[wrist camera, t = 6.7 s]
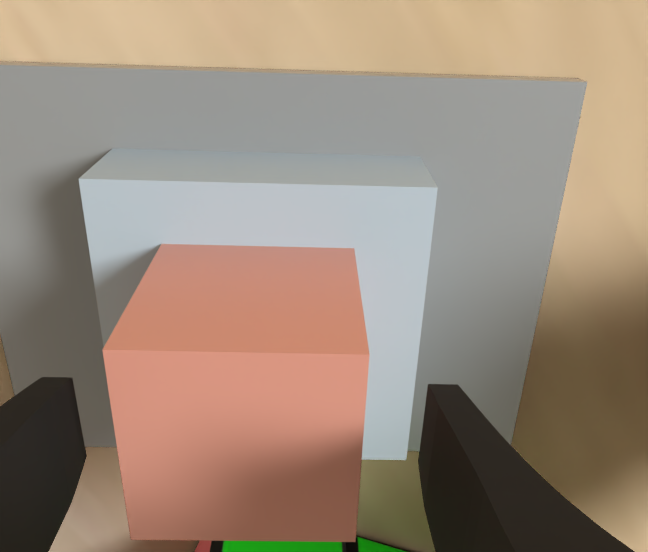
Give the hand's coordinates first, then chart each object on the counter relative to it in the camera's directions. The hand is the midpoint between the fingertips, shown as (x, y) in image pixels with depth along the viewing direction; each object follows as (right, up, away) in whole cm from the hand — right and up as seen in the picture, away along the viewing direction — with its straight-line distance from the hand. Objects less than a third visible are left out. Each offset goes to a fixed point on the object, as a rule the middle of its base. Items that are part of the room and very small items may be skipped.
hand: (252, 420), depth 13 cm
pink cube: (0, +2, +3) cm, 3 cm away
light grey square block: (0, +3, +5) cm, 6 cm away
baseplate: (0, +3, +6) cm, 6 cm away
